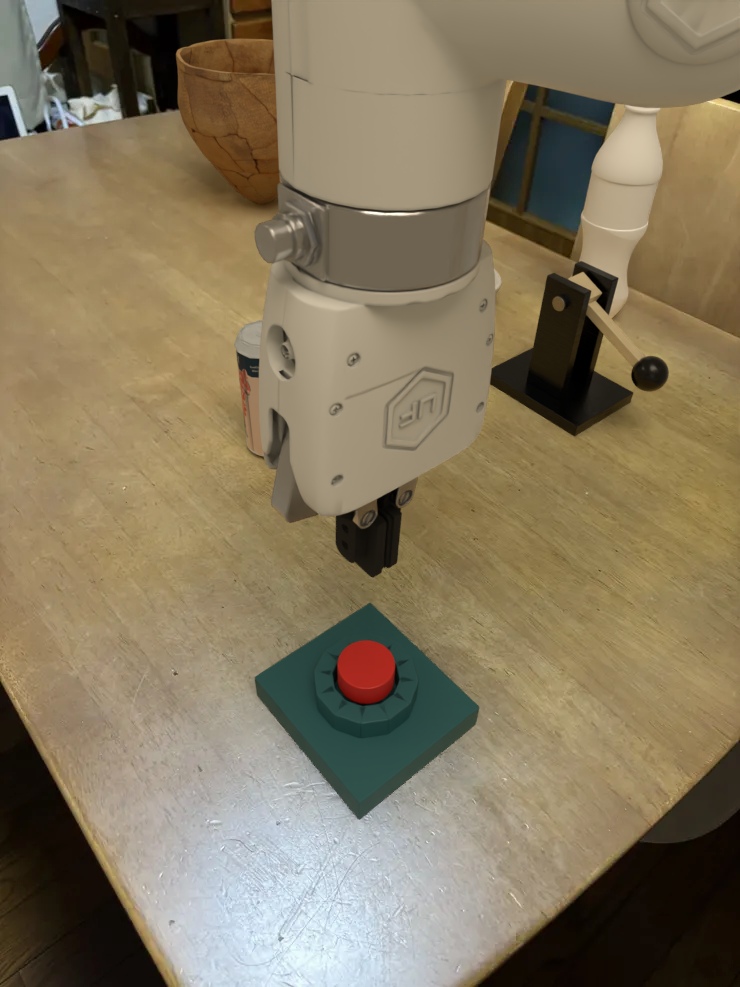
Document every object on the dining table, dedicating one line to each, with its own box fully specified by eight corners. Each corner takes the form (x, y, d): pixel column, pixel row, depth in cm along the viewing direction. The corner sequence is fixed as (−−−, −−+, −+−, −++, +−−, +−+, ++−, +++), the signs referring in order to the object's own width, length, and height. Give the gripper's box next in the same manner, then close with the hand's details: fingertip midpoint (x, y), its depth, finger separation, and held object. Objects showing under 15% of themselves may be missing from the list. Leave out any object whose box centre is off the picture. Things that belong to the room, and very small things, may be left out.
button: (405, 682, 48) (407, 667, 47) (362, 715, 46) (362, 699, 45) (369, 646, 50) (370, 630, 49) (326, 675, 48) (325, 660, 47)
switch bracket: (630, 402, 77) (667, 287, 68) (574, 436, 72) (605, 318, 64) (540, 351, 83) (563, 240, 75) (484, 380, 79) (501, 266, 70)
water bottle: (556, 321, 88) (607, 87, 71) (565, 293, 93) (614, 68, 76) (619, 332, 87) (686, 95, 70) (624, 303, 92) (687, 76, 75)
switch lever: (661, 390, 70) (682, 370, 67) (640, 403, 68) (662, 383, 66) (571, 290, 73) (588, 266, 70) (550, 300, 71) (566, 276, 69)
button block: (476, 724, 50) (483, 691, 47) (359, 820, 45) (359, 789, 42) (369, 620, 56) (370, 585, 53) (256, 695, 51) (251, 660, 48)
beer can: (261, 424, 73) (250, 313, 65) (306, 436, 72) (300, 324, 63) (237, 453, 69) (222, 340, 61) (283, 466, 68) (275, 353, 60)
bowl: (207, 174, 120) (190, 29, 106) (334, 179, 119) (333, 34, 106) (178, 229, 104) (153, 68, 91) (323, 234, 104) (320, 74, 91)
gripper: (272, 325, 22) (292, 677, 35) (590, 208, 29) (512, 534, 42) (150, 235, 26) (208, 578, 39) (456, 152, 33) (421, 464, 46)
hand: (366, 555), depth 40 cm, fingers closed
